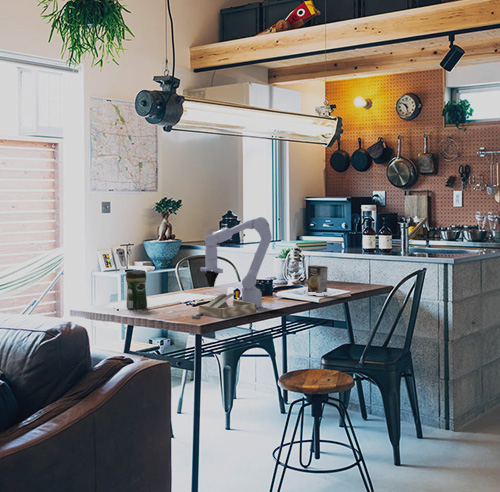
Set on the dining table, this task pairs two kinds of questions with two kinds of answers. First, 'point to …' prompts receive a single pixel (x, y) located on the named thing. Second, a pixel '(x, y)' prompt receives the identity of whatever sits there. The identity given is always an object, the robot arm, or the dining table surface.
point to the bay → (229, 309)
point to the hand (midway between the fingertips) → (211, 286)
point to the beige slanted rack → (220, 301)
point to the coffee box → (317, 279)
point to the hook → (197, 316)
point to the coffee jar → (136, 289)
